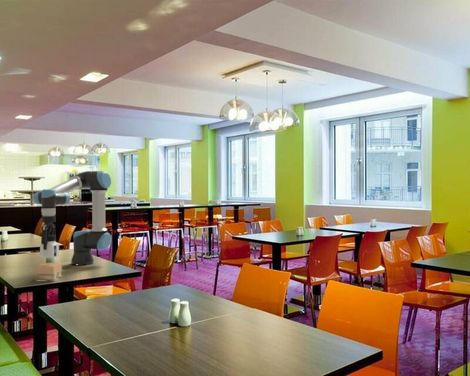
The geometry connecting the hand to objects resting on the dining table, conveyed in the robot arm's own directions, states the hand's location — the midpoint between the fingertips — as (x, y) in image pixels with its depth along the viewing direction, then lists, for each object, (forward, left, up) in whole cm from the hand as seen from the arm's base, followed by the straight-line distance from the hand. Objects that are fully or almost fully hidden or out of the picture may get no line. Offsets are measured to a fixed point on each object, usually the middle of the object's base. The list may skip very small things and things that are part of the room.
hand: (48, 254), depth 260 cm
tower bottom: (0, 0, -15) cm, 15 cm away
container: (0, 0, -2) cm, 2 cm away
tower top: (0, 0, -11) cm, 11 cm away
